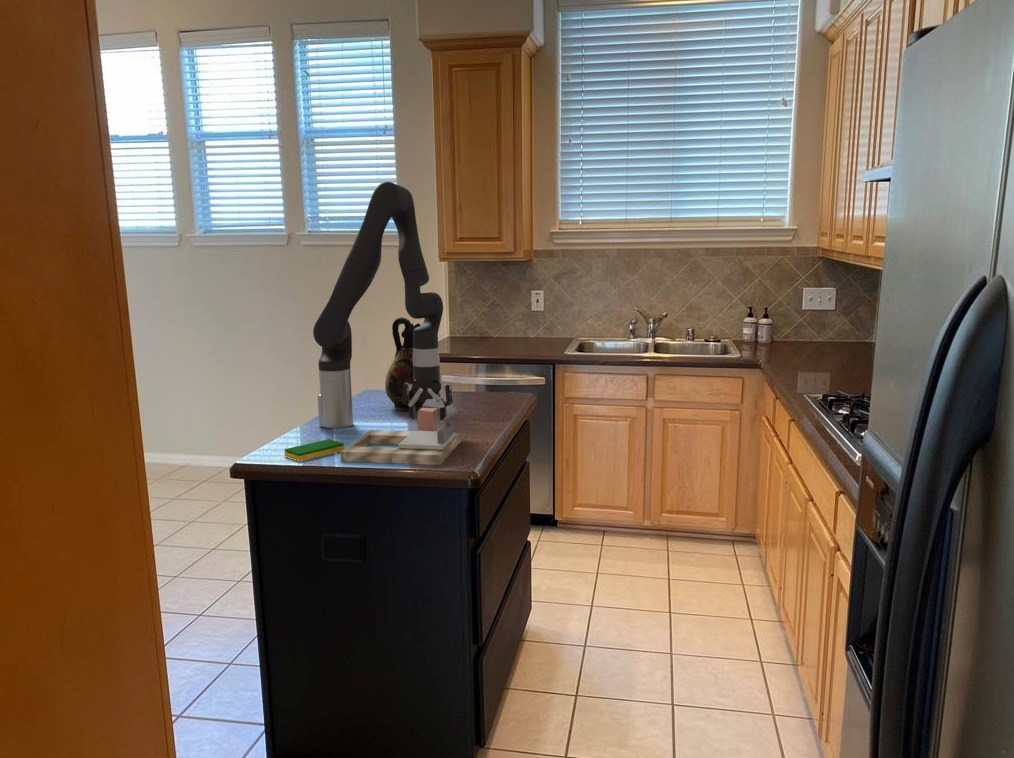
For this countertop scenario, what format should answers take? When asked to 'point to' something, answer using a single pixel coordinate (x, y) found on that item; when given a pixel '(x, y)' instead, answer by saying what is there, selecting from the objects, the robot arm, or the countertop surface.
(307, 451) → the dish sponge
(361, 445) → the board
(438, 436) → the cover
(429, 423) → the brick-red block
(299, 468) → the countertop surface
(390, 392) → the ceramic jug
